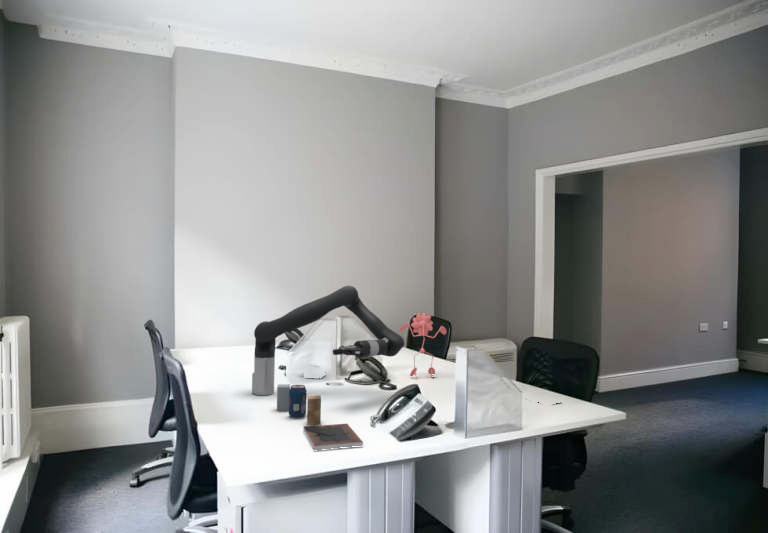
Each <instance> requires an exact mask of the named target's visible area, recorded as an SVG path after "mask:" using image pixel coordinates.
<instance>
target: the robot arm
mask: <svg viewBox="0 0 768 533" xmlns="http://www.w3.org/2000/svg"><path fill="white" fill-rule="evenodd" d="M359 296H360V295H359V292H358V290H357V289H356V287H355V286H352V285H345V286H342V287H341V288H339V289H337V290H335V291H333V292H332V293H330V294H328V295H326V296H323V297H321V298H317V299H315V300H313V301H310V302H307V303H305V304H303V305H301V306H298V307H296V308H294V309H292V310H291V311H289V312H287V313H285V314H284V315H282V316H281V317H278V318H276V319H272V320H271V321H261V322H260V323H258V325H256V326H255V329H254V331H253V336H254V338H255V344H254V345H255V346H254V359H253V361H254V362H253V364H254V365H253V368H254V370H253V371H254V372H252V373H251V382H252V383H251V394H254V395H255V396H270V394H271V395H274V394H275V370H276V369H275V363H276V362H275V361H276V360H275V358H276V357H275V355H276V338H278V337H279V336H282V335H283V334H285V333H287V332H291V331H294V330H297V329H301V328H303V327H305V326H308V325H310V324H312V323H315V322H316V321H319V320H321V319H322V318H323V317H324V316H326V315H327V314H328V313H330V312H332V311H333V310H336V309H338V308H341V307H345V308H346V309H347V310H348V311H350V312H351V313H353V314H354V316H356V317H357V318H358V319H359V320H360V321H361V322H362V323H363V325H364V326H366V328H367V329H368V330H369V331H370V332H371V333H372V335H374V337H375V338H376V339H365V340H364V339H363V340H357V341H355V342H354V343H353V344H349V345H346V346H345V345H341V346H339V347H338V348H334V349H333V350H332V355H334V356H339V355H341V356H342V355H343V356H344V355H345V356H355V358H357V359H365V358H371V357H376V356H385V357H390V358H391V357H395V356H396V355H398V354H399V352H400V351H401V350H403V347H405V340H404V338H403V337H402V335H400V334H398V333H397V332H395V331H393V330H392V329H391V328H389V327H388V326H387V325H386V324H385V323H384V322H383V321H382V320H381V319H380V318H379V317H378V316H377V315H375V313H373V312H372V311H371V310H370V309H369V308H368V307H367V306H366V305H365V304H364V303H363V301H362V300H361V298H360V297H359ZM385 339H387V341H386V340H385Z"/></svg>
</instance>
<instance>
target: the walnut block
mask: <svg viewBox="0 0 768 533" xmlns="http://www.w3.org/2000/svg"><path fill="white" fill-rule="evenodd" d="M321 410H322V396H321V395H320V394H318V395H315V394H314V395H307V402H306V426H320V425H321V420H322V414H321V413H322V412H321ZM319 424H320V425H319Z"/></svg>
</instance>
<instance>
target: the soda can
mask: <svg viewBox="0 0 768 533" xmlns="http://www.w3.org/2000/svg"><path fill="white" fill-rule="evenodd" d="M307 396H308V395H307V389H306V385H304V384H293V385H290V390H289V411H288V416H289V417H290V418H292V419H302V418H304V417H305V416H306V415H307ZM301 417H302V418H301Z"/></svg>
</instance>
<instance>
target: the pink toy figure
mask: <svg viewBox="0 0 768 533" xmlns="http://www.w3.org/2000/svg"><path fill="white" fill-rule="evenodd" d="M431 319H432V316H431V315H429V314H427V315H426V313H425V312H423V313H420V312H418V313H417V314H416V316H415V317H413V318H412V323H411V324H410V322H406V323H403V325H402V326H401V327H400V328H399V330H398V331H399V333H401V332H403V331H404V330H406V328H407V327H409V330H410V331H411V334H412V337H414V338H415V337H423V341H422V345H421V348H419V349H420V350H419V352H417V353H416V354H415V355H414V356H413V362H414V363H413V367H414V368H413V369H412V370H411V371H410V373H409V374H410V375H409V376H412V377H413V376H415V377H416V378H417V371H418V368H417V367H416V365H415V364H416V363H415V362H416V360H415V357H416V356H417V355H418V354H419V353H421V354H425V353H426V354H428V355H429V356H431V361H433V358H434V356H433V354H431V353H429V352H427V351H426V350H425V348H424V344H425V337H428V338H431V339H434V338H436V336H437V335H438V334H439V332H440V333H441V334H442V335H443V336H445V335H446V334H447V328H445V326H443V325H441V326H440V327H439V329H438V331H437V332H436V333H435V334H434V336H431V335H428V334H429V331H430V332H431V331H433V326H432V325H433V324H434V322H433V321H432V320H431ZM411 327H412V328H413V329H412V328H411ZM414 333H415V334H416V333H417V334H416V335H414ZM430 365H431V366H430V367H428V370H427V372H428V375H429V374H431V375H432V374H434V375H435V374H436V369H435V368H434V367H433V362H431V364H430ZM431 375H430V376H431ZM434 375H432V376H433V377H434ZM432 376H431V377H432Z"/></svg>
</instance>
